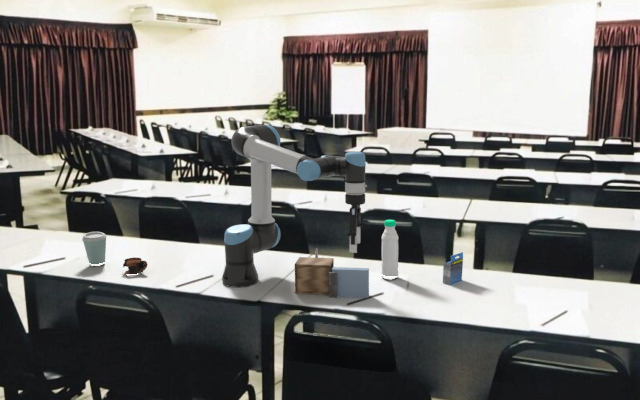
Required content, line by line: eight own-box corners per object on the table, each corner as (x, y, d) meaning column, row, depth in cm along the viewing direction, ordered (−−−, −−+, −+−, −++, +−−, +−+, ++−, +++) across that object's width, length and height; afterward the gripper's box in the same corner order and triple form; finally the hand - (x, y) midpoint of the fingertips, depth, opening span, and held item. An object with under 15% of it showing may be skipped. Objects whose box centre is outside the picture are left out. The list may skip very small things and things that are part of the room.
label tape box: (454, 278, 258) (455, 250, 256) (462, 280, 256) (463, 251, 253) (442, 283, 252) (443, 254, 250) (450, 285, 249) (451, 256, 247)
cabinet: (293, 296, 240) (293, 266, 237) (300, 285, 252) (299, 257, 250) (336, 297, 237) (336, 267, 235) (341, 286, 249) (340, 258, 247)
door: (332, 296, 239) (332, 269, 237) (333, 293, 242) (333, 267, 240) (368, 297, 236) (368, 270, 234) (368, 295, 239) (368, 268, 237)
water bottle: (400, 276, 262) (400, 219, 257) (395, 281, 255) (395, 222, 251) (384, 274, 265) (384, 218, 260) (379, 279, 258) (379, 221, 254)
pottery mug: (118, 277, 268) (118, 259, 271) (131, 281, 277) (130, 263, 279) (142, 272, 265) (141, 253, 268) (154, 275, 274) (153, 257, 276)
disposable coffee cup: (113, 263, 287) (111, 232, 284) (94, 269, 278) (91, 237, 276) (99, 260, 293) (96, 230, 290) (79, 266, 284) (76, 234, 281)
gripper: (362, 199, 218) (361, 257, 223) (368, 187, 243) (367, 239, 247) (341, 199, 220) (341, 256, 224) (349, 187, 244) (349, 239, 248)
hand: (355, 247), depth 235 cm, fingers open, 13 cm apart
